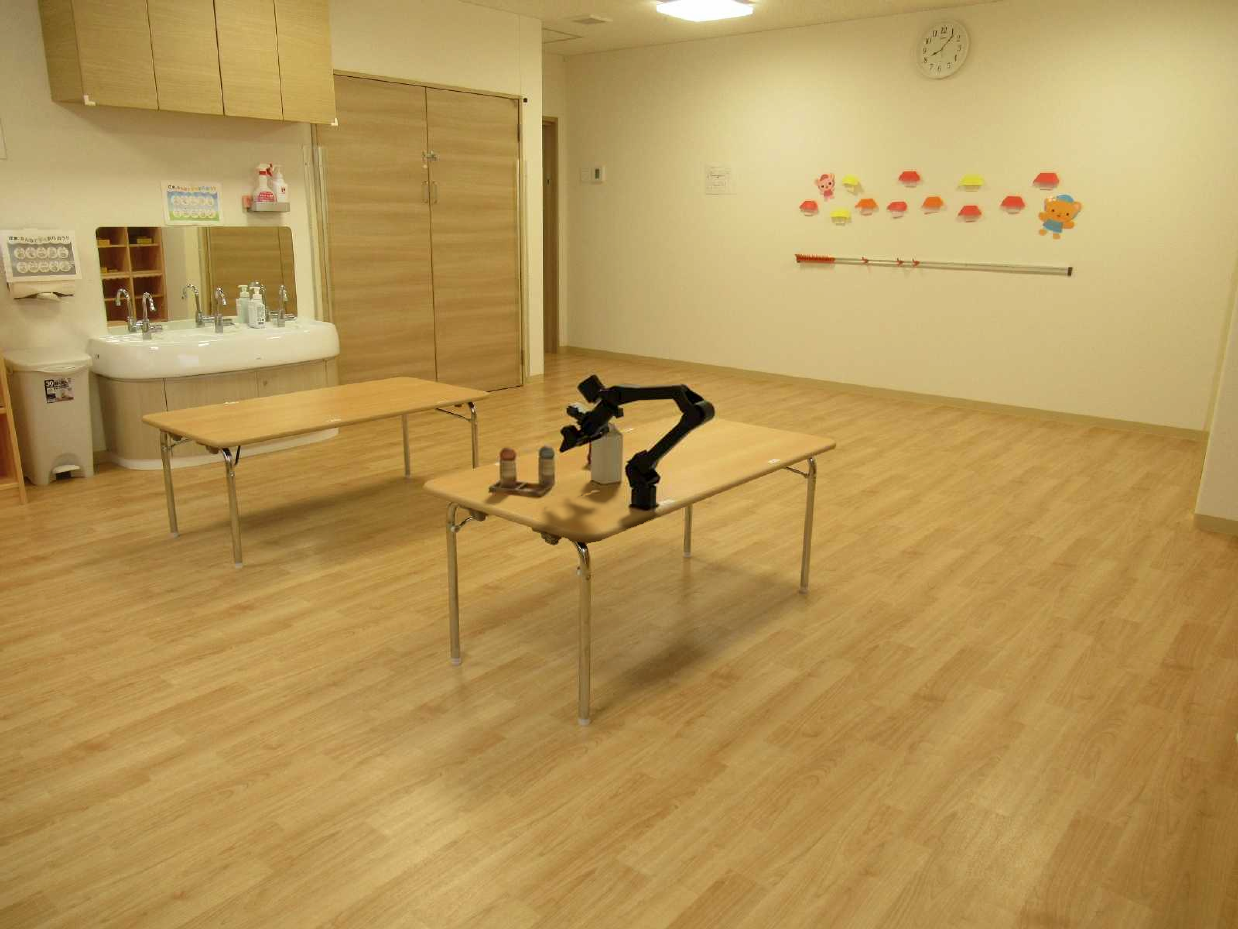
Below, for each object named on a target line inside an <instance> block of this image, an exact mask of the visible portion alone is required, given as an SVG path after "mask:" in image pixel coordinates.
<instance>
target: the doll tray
mask: <svg viewBox="0 0 1238 929" xmlns="http://www.w3.org/2000/svg"><path fill="white" fill-rule="evenodd" d="M551 490H552V485H547V484H538V482H536V483H535V482H528V481H518V480H517V488H516V489H509V488H500V479H499V480H497V481H496V482H494V483H493V484H491V485H490V486H489V487H488V491H489V492H494V493H502V494H512V495H519V496H520V495H521V496H529V497H537V498H538V497H539V498H542V497H543V496H545V495H546V494H547V493H549V492H550V491H551Z"/></svg>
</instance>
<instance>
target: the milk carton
mask: <svg viewBox="0 0 1238 929" xmlns="http://www.w3.org/2000/svg"><path fill="white" fill-rule="evenodd" d="M608 427H609V433H608V434H607V435H606V436H604V437H602V438H600V439H597V440H595V441H592V442H591V464H590V479H591V480H592V481H595V482H597V483H599V484H601V485H608V484H613V483H618V482H619V483H620V482H623V457H624V456H623V454H624V453H623V451H624V450H623V449H624V434H623V433H622V432H621V431H620V430H619V429H618V427H617V425H615V423H614V422H611V421H609V422H608ZM601 434H602V432H601Z"/></svg>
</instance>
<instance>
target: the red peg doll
mask: <svg viewBox="0 0 1238 929" xmlns="http://www.w3.org/2000/svg"><path fill="white" fill-rule="evenodd" d="M516 452H517V451H516V450H515V449H514V448H512V447H511V446H506V447H503V448H502V449H501V450H500V452H499V480H500V488H509V489H516V488H517V481H518V478H517V474H518V470H517V468H518V467H517V463H518V462H517V453H516Z"/></svg>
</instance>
